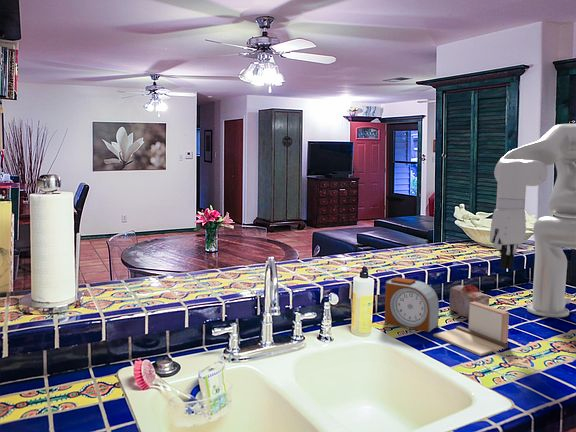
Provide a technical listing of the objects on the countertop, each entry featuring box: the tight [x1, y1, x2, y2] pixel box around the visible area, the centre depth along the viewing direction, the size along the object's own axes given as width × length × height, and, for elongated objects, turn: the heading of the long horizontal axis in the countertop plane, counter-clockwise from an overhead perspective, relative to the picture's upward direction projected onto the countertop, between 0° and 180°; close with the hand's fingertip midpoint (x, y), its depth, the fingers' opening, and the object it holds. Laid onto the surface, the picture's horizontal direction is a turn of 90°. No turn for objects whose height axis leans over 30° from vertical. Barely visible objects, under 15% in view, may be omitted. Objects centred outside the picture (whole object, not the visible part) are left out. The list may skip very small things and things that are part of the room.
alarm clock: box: [384, 276, 440, 333], centre depth 167 cm, size 15×8×14 cm, turn 55°
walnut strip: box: [455, 325, 509, 350], centre depth 155 cm, size 1×17×1 cm, turn 30°
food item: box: [448, 284, 490, 319], centre depth 175 cm, size 14×8×10 cm, turn 20°
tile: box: [467, 301, 510, 344], centre depth 155 cm, size 2×12×9 cm, turn 30°
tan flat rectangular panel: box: [432, 328, 505, 357], centre depth 152 cm, size 9×17×1 cm, turn 30°
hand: (506, 267), depth 157 cm, fingers closed
